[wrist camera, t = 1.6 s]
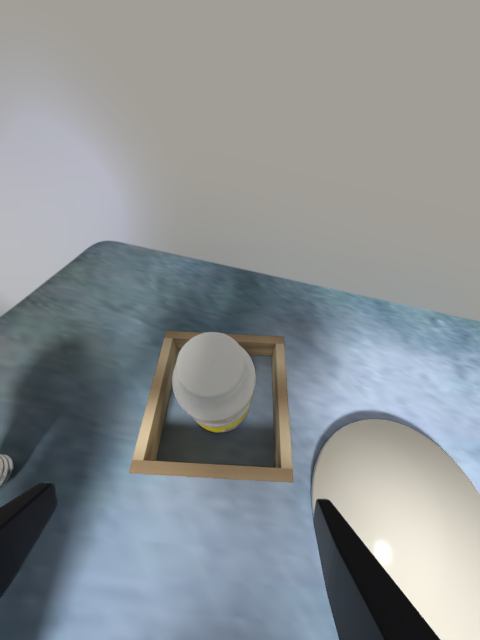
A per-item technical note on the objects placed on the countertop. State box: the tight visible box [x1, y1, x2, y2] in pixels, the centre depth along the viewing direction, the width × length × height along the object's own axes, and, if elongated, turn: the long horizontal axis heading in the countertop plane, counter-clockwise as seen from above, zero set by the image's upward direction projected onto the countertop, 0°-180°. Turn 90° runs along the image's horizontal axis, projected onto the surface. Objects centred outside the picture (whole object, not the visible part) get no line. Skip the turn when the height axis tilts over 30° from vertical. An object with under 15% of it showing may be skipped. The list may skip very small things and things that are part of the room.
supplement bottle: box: [172, 332, 256, 433], centre depth 17 cm, size 6×6×10 cm
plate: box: [311, 419, 480, 640], centre depth 17 cm, size 13×13×1 cm
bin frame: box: [129, 331, 294, 483], centre depth 20 cm, size 12×12×3 cm
